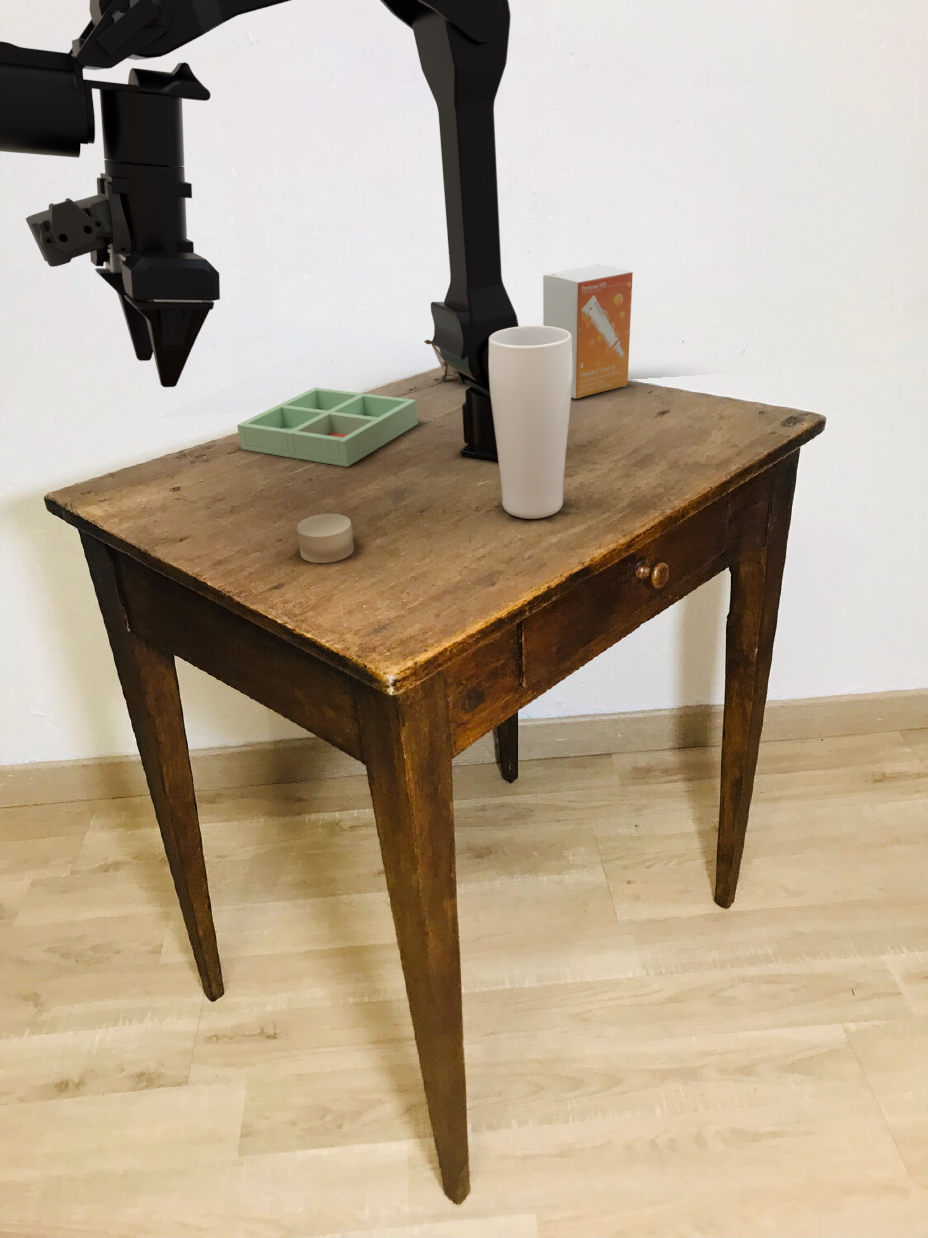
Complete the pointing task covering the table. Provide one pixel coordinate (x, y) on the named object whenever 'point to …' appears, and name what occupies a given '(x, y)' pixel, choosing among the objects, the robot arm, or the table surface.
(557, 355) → the drinking glass
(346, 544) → the cylinder
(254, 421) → the grid
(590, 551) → the table surface
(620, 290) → the small box
